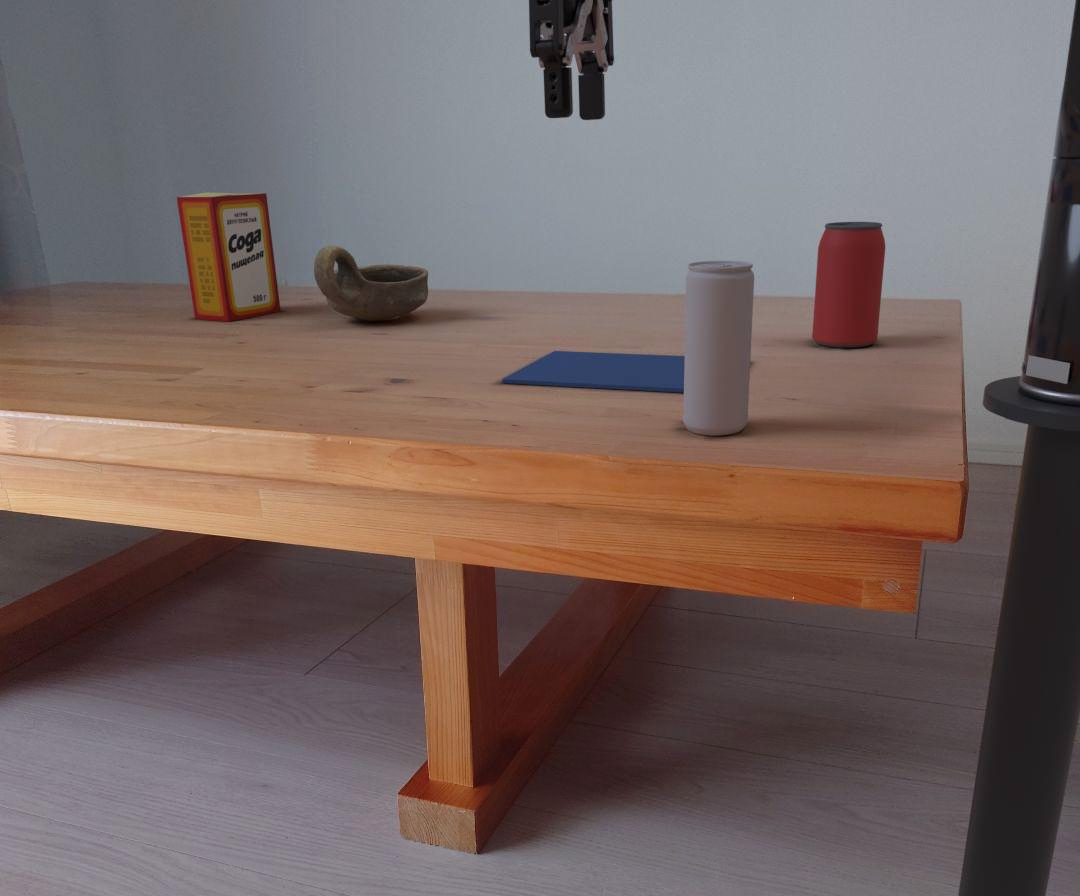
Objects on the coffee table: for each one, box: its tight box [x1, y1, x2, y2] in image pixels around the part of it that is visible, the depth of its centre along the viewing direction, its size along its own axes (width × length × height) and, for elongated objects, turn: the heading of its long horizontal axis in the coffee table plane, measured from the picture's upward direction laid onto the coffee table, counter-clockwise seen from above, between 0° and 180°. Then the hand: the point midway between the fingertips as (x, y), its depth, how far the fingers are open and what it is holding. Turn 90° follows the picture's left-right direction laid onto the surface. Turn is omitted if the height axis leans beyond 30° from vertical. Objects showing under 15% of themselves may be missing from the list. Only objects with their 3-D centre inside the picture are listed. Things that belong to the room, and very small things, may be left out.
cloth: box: [501, 350, 685, 394], centre depth 95 cm, size 20×14×1 cm
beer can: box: [811, 221, 886, 349], centre depth 103 cm, size 7×7×12 cm
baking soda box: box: [176, 192, 281, 322], centre depth 136 cm, size 10×6×16 cm
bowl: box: [313, 245, 429, 322], centre depth 128 cm, size 14×18×10 cm
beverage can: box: [682, 260, 755, 437], centre depth 73 cm, size 5×5×12 cm
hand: (576, 118), depth 87 cm, fingers open, 8 cm apart
